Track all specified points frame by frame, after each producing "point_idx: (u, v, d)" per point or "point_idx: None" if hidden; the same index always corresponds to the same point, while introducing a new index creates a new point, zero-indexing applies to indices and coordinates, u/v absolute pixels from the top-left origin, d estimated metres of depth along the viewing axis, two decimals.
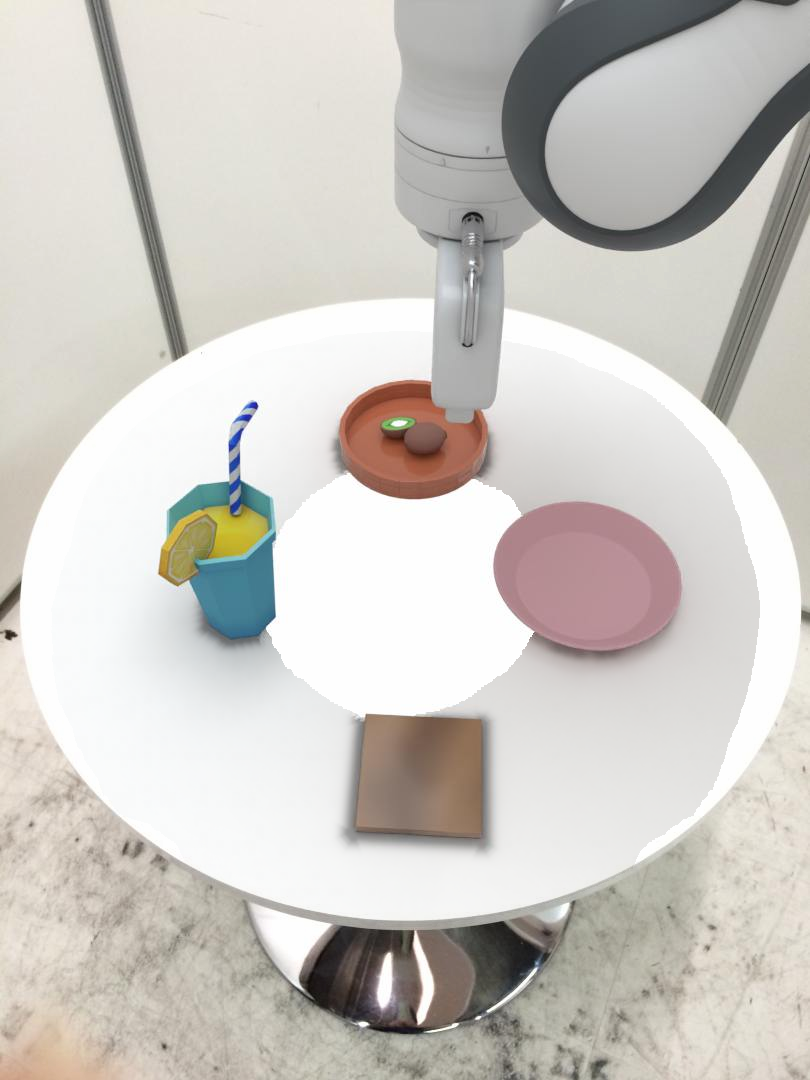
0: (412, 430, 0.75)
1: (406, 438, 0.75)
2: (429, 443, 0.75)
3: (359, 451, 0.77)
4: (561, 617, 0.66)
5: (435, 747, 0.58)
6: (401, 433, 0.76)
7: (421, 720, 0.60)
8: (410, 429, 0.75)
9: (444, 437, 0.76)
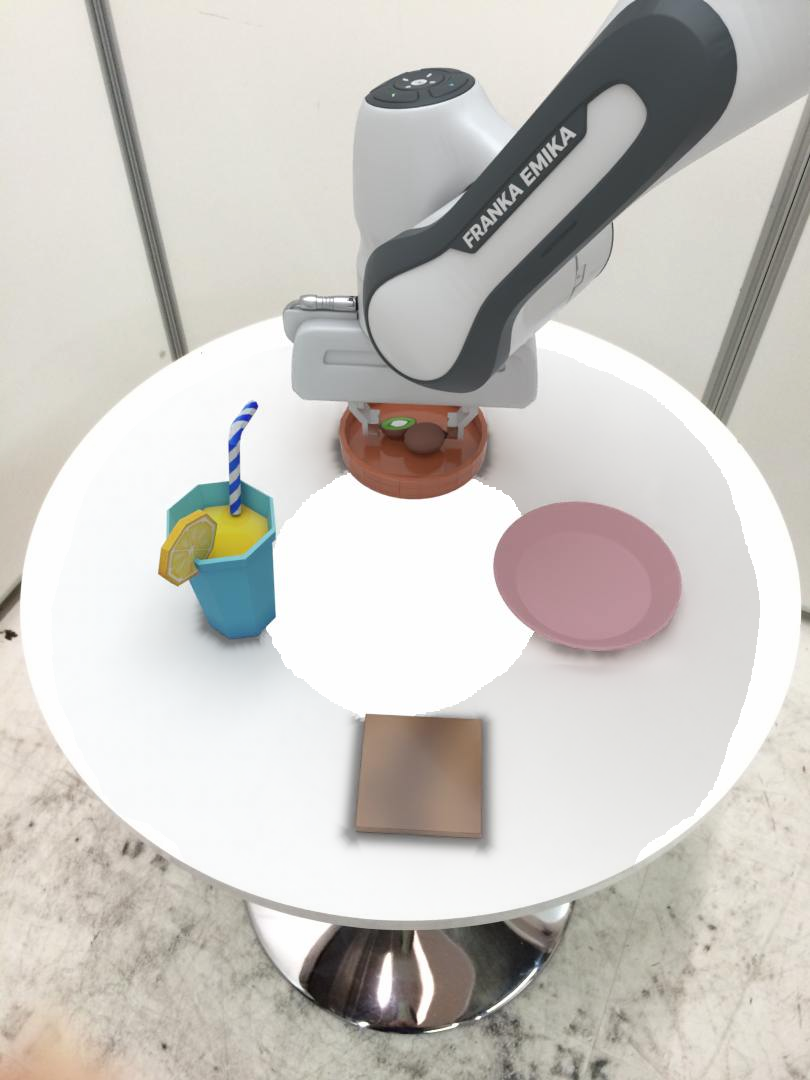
0: (412, 430, 0.75)
1: (406, 438, 0.75)
2: (429, 443, 0.75)
3: (359, 451, 0.77)
4: (561, 617, 0.66)
5: (435, 747, 0.58)
6: (401, 433, 0.76)
7: (421, 720, 0.60)
8: (410, 429, 0.75)
9: (444, 437, 0.76)
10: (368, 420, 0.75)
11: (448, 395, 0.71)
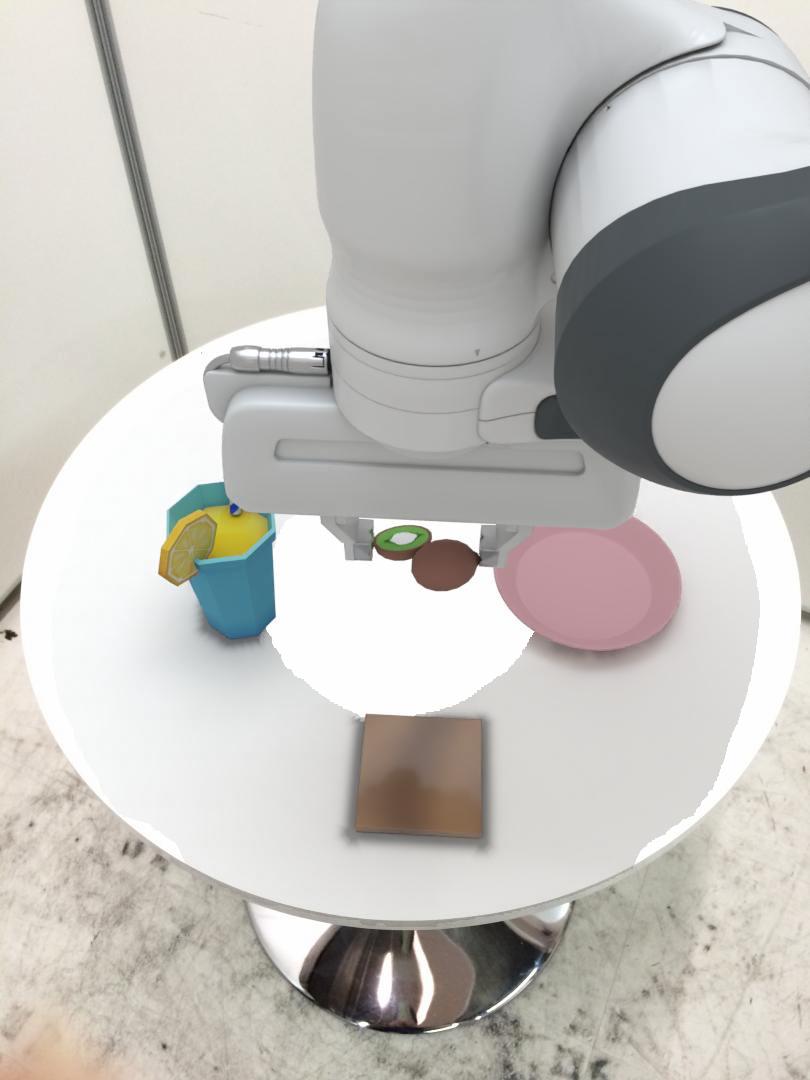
0: (425, 554, 0.47)
1: (415, 566, 0.47)
2: (452, 577, 0.46)
3: None
4: (561, 617, 0.66)
5: (435, 747, 0.58)
6: (407, 556, 0.48)
7: (421, 720, 0.60)
8: (421, 552, 0.47)
9: (476, 564, 0.47)
10: (354, 539, 0.46)
11: (485, 509, 0.42)
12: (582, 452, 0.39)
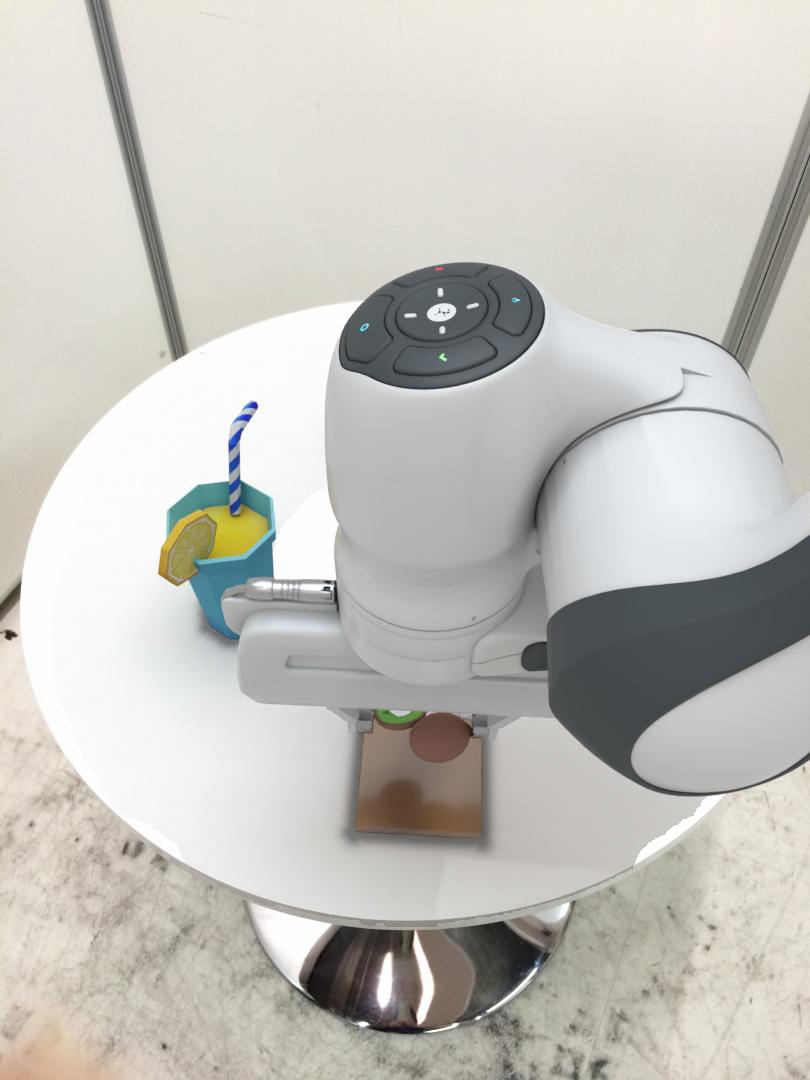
0: (421, 730, 0.51)
1: (413, 741, 0.51)
2: (447, 752, 0.50)
3: None
4: None
5: None
6: (405, 727, 0.52)
7: None
8: (418, 727, 0.51)
9: (468, 737, 0.51)
10: (356, 717, 0.50)
11: (477, 705, 0.46)
12: None
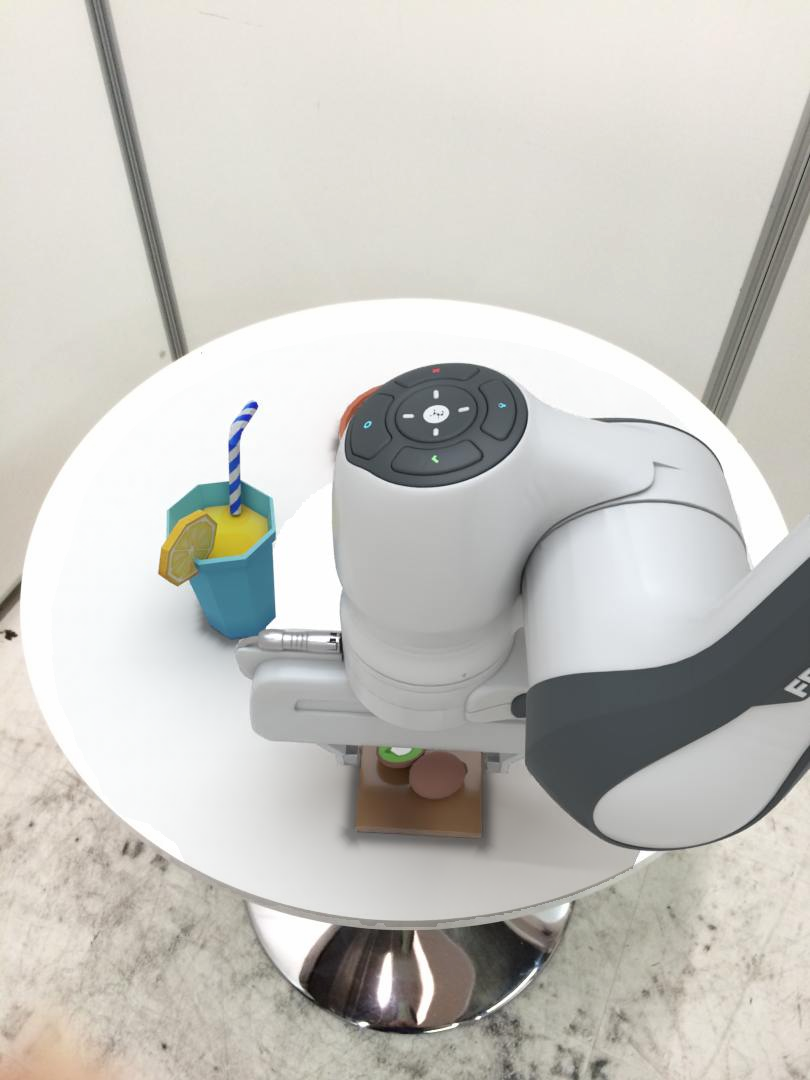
0: (420, 769, 0.55)
1: (412, 779, 0.55)
2: (444, 790, 0.54)
3: None
4: None
5: None
6: (405, 765, 0.56)
7: None
8: (417, 766, 0.55)
9: (464, 775, 0.55)
10: (344, 751, 0.54)
11: (472, 744, 0.50)
12: None
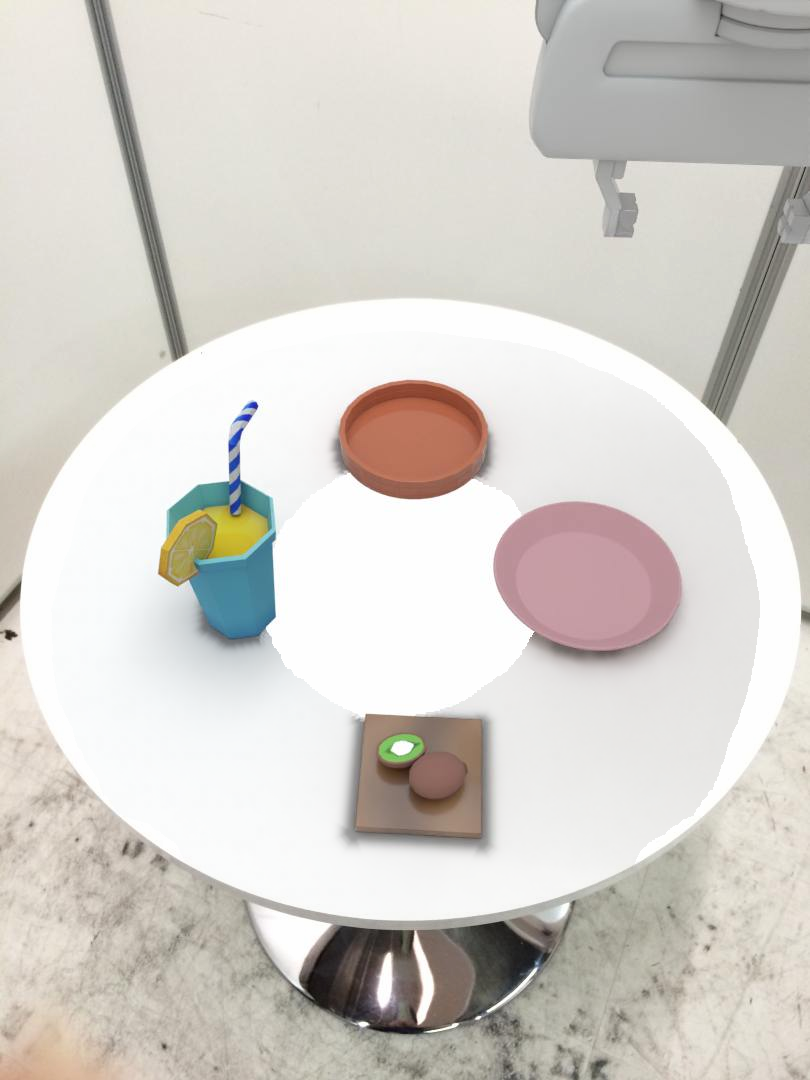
0: (420, 769, 0.55)
1: (412, 779, 0.55)
2: (444, 790, 0.54)
3: (359, 451, 0.77)
4: (561, 617, 0.66)
5: (435, 747, 0.58)
6: (405, 765, 0.56)
7: (421, 720, 0.60)
8: (417, 766, 0.55)
9: (464, 775, 0.55)
10: (621, 205, 0.45)
11: (806, 142, 0.41)
12: None
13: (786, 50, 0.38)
